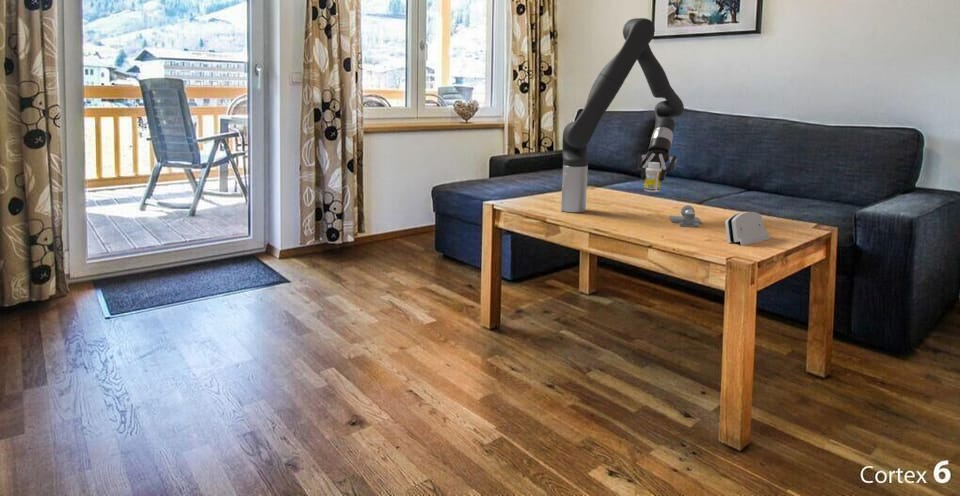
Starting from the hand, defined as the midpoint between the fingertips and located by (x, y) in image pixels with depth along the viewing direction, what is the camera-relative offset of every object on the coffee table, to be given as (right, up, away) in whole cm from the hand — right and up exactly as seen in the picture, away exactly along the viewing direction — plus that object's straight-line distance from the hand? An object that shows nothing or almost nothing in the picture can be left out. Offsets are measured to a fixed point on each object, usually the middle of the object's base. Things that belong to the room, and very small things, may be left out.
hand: (652, 179), depth 235 cm
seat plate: (+12, -14, +2) cm, 19 cm away
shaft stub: (+11, -16, -5) cm, 21 cm away
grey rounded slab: (+23, -22, -25) cm, 41 cm away
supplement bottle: (+1, -4, +3) cm, 5 cm away
